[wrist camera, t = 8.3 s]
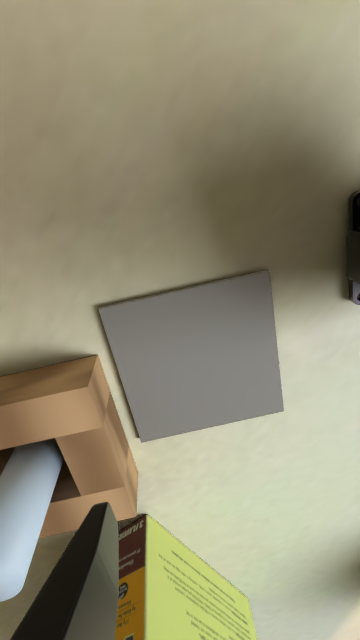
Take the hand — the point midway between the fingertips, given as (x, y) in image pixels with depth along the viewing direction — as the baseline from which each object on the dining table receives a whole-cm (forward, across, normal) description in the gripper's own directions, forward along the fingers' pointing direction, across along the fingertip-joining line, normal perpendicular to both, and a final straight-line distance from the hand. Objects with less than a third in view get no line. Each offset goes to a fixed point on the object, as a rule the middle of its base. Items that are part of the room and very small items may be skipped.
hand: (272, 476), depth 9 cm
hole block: (+12, +12, +6) cm, 18 cm away
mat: (+12, +1, +3) cm, 12 cm away
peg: (+12, +12, +6) cm, 18 cm away
